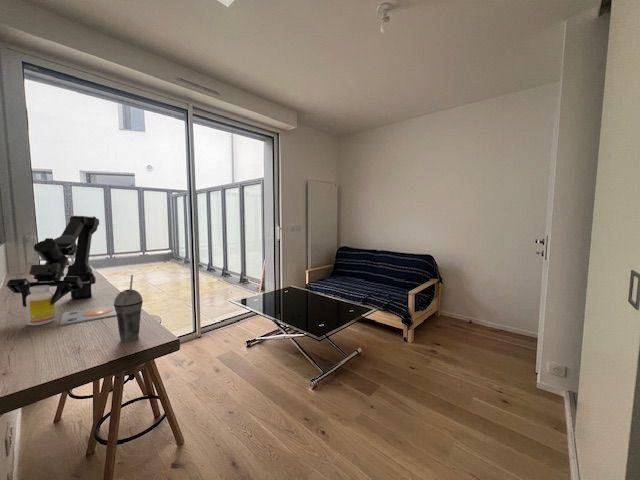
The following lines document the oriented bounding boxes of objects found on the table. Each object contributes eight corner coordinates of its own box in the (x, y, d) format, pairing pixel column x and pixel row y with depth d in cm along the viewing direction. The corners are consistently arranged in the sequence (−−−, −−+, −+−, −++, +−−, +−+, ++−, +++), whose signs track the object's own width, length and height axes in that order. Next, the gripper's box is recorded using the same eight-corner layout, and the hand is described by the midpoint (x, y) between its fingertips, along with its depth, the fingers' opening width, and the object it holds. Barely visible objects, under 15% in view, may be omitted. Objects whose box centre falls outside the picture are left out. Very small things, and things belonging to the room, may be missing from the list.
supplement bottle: (59, 320, 92) (57, 285, 91) (34, 327, 85) (32, 290, 85) (48, 317, 94) (46, 283, 93) (22, 324, 88) (20, 287, 87)
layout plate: (116, 305, 108) (116, 304, 108) (118, 315, 98) (118, 313, 98) (63, 314, 97) (63, 312, 97) (59, 326, 87) (59, 324, 87)
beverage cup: (109, 341, 77) (107, 276, 76) (134, 332, 84) (132, 272, 83) (124, 346, 74) (122, 279, 73) (149, 336, 81) (147, 274, 80)
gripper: (8, 256, 88) (-16, 296, 79) (78, 254, 95) (64, 291, 86) (24, 274, 96) (4, 312, 86) (88, 271, 103) (76, 306, 94)
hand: (38, 305), depth 88 cm, fingers closed on supplement bottle, 7 cm apart
